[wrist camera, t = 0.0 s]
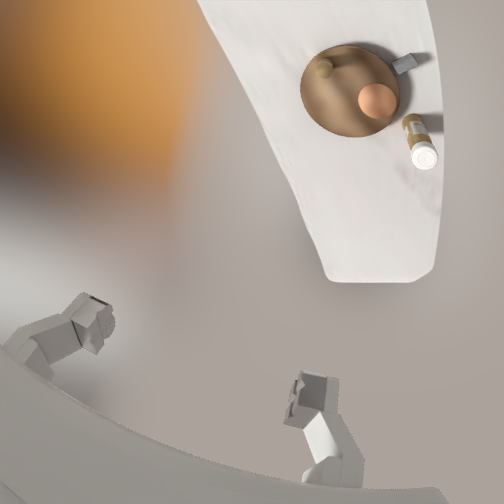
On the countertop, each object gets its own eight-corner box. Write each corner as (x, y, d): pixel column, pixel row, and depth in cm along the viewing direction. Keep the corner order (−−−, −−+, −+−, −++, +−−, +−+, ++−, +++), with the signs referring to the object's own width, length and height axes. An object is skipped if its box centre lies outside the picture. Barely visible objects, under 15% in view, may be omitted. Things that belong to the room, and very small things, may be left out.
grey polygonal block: (409, 53, 37) (413, 57, 35) (414, 60, 38) (418, 65, 35) (391, 62, 40) (393, 67, 38) (395, 69, 40) (398, 74, 38)
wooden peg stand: (360, 28, 36) (362, 33, 31) (415, 109, 44) (423, 127, 39) (282, 78, 48) (272, 91, 43) (339, 146, 56) (336, 168, 51)
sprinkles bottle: (397, 125, 49) (407, 161, 41) (409, 109, 45) (423, 141, 37) (415, 138, 49) (427, 175, 41) (427, 122, 46) (444, 157, 38)
